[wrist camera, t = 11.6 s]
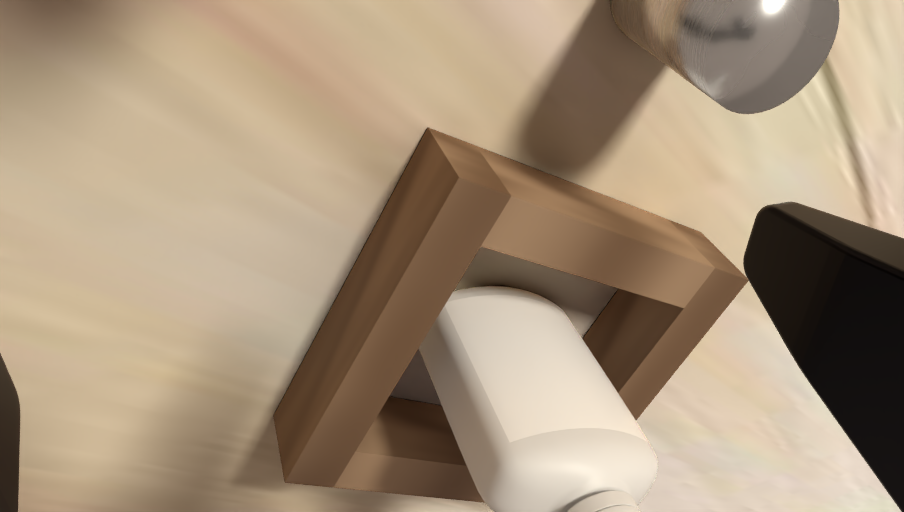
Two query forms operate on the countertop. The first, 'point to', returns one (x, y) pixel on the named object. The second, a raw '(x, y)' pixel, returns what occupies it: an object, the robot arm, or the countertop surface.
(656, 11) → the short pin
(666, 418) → the countertop surface
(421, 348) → the eye dropper bottle
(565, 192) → the socket block
